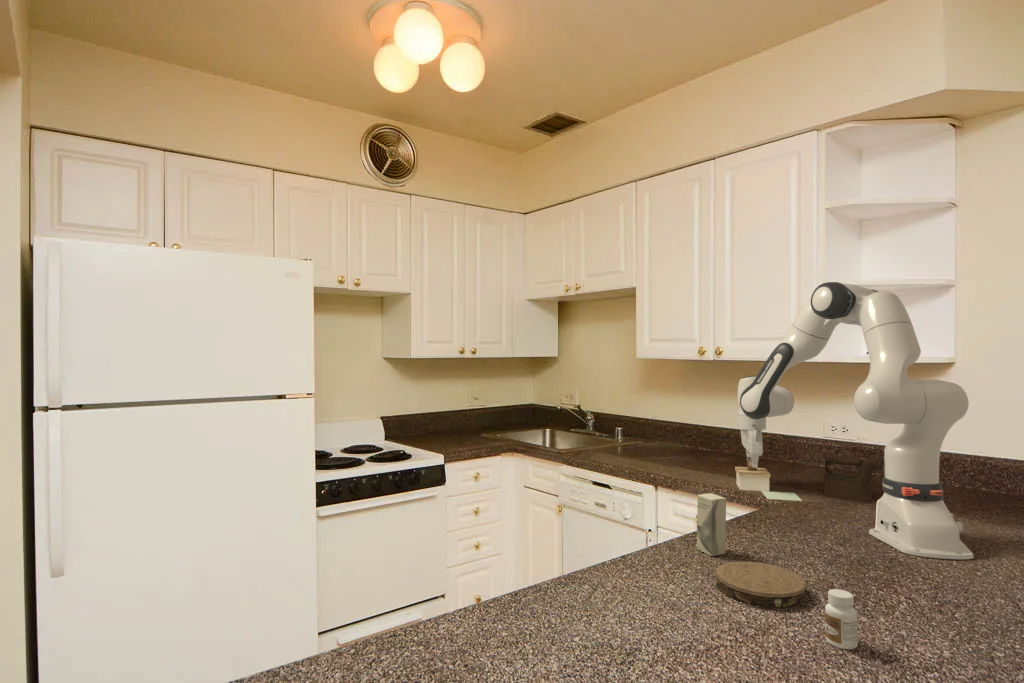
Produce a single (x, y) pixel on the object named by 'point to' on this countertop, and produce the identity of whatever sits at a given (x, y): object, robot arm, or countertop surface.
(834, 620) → the pill bottle
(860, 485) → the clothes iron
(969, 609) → the countertop surface
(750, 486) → the dish
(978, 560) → the countertop surface
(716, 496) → the box
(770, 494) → the mat
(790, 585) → the brown round disc
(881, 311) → the robot arm
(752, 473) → the lid
